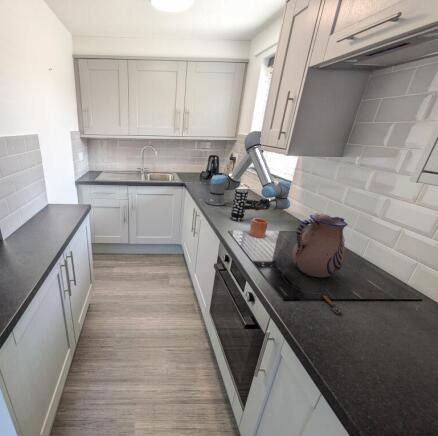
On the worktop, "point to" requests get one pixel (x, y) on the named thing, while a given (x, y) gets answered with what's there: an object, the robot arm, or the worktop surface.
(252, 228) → the cup
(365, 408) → the worktop surface
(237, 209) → the spotted tube
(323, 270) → the ceramic pitcher
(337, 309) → the can opener
